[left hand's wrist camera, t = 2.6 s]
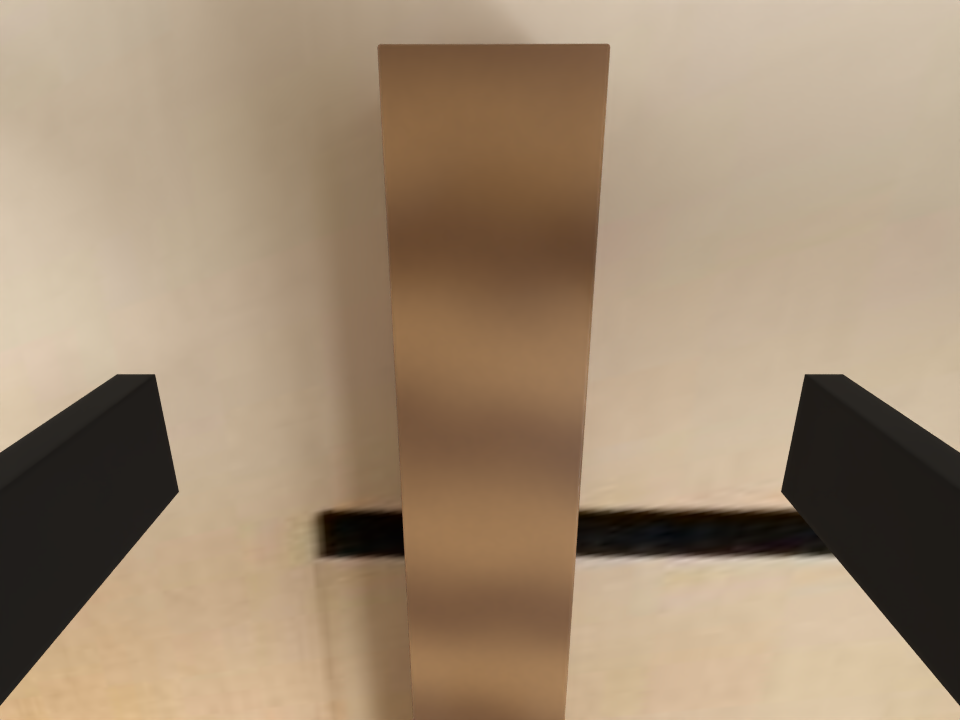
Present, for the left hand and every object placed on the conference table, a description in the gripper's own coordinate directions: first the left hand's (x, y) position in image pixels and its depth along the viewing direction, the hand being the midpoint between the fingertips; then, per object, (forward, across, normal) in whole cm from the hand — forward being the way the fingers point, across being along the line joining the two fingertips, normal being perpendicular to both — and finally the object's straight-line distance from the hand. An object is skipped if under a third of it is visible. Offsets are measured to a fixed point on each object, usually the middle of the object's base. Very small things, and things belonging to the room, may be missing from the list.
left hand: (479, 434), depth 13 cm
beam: (+11, 0, -30) cm, 32 cm away
